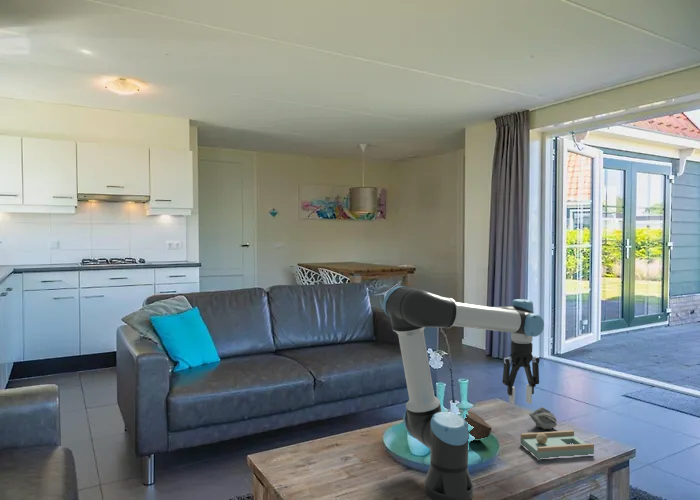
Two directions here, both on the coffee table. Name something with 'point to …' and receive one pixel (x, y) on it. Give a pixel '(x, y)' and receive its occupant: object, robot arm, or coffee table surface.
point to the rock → (478, 426)
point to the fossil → (543, 418)
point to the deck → (556, 444)
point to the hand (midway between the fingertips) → (520, 403)
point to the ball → (541, 438)
